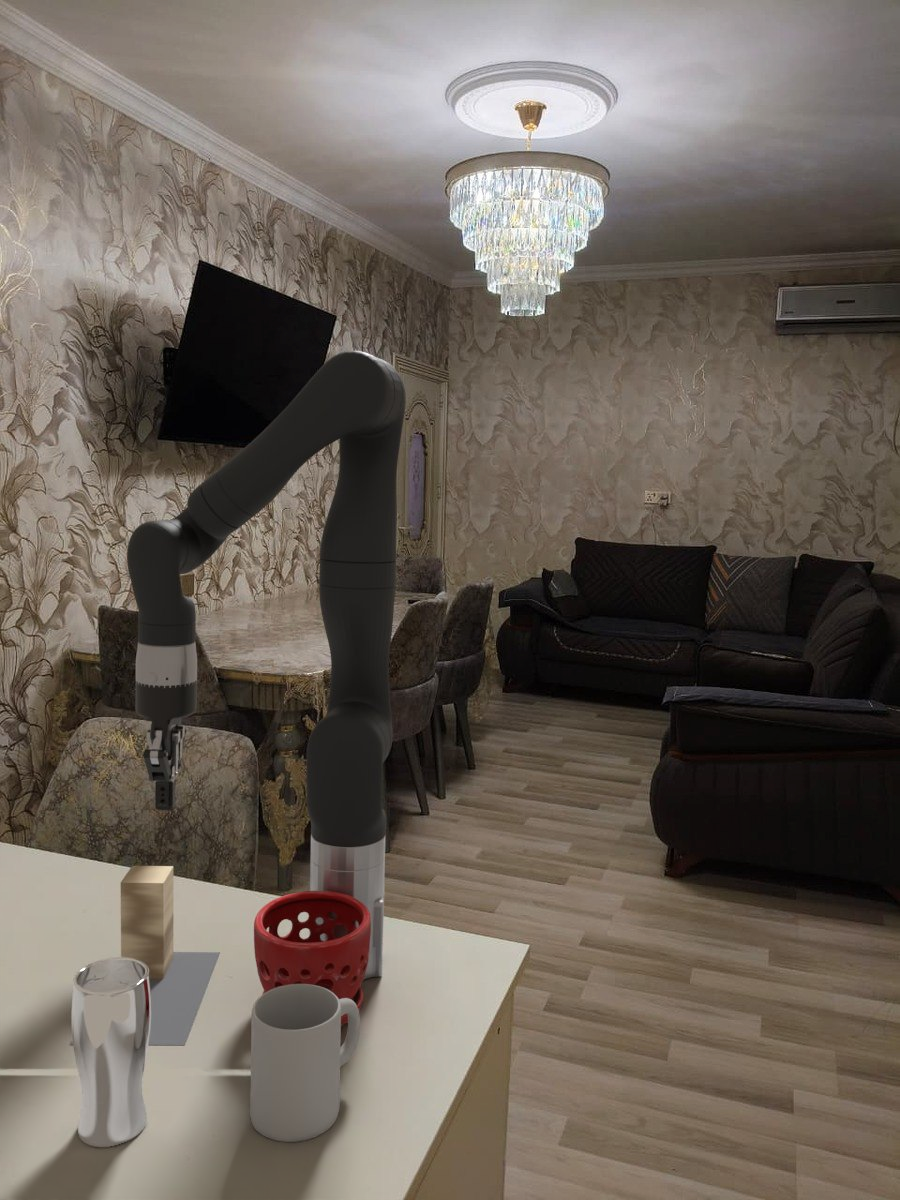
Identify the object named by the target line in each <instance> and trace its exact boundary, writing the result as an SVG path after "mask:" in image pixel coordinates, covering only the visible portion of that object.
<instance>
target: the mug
mask: <svg viewBox="0 0 900 1200" xmlns="http://www.w3.org/2000/svg"><path fill="white" fill-rule="evenodd" d="M262 994H263V993H262ZM262 994H260V996H259V997H258V998H257V999H256V1000H255V1001H254V1003H253V1006H252V1008H251V1022H250V1023H251V1024H250V1025H251V1031H250V1033H251V1034H250V1035H251V1037H250V1038H251V1041H250V1042H251V1044H250V1049H251V1051H250V1093H249V1094H250V1096H249V1097H250V1098H249V1099H250V1100H249V1116H250V1121H251V1124H252V1126H253V1127H254V1129H255V1130H256V1131H257V1133H259V1134H261V1135H262V1136H263V1137H265V1138H267V1139H270V1140H273V1141H276V1142H282V1143H297V1142H303V1141H308V1140H312V1139H314V1138H316V1137H319V1136H321V1135H322V1134H324V1133H325V1132H327V1131H329V1129H330V1128H331V1127H332V1126H333V1125H334V1123H335V1122H336V1120H337V1118H338V1116H339V1112H340V1102H341V1101H340V1099H341V1097H340V1095H341V1093H340V1089H341V1087H340V1079H341V1078H340V1077H341V1076H340V1075H341V1069H340V1068H341V1067H342V1066H344V1065H345V1064H346V1063H347V1062H349V1061H350V1060H351V1059H352V1057H353V1056H354V1055H355V1053H356V1051H357V1047H358V1044H359V1039H360V1034H361V1033H360V1030H361V1017H360V1010H358V1008H357V1005H356V1003H355V1002H354V1001H353V1000H351V999H348V998H342V999H338V997H337V996H336V995H335V994H334V993H333V992H331V991H330V990H328V989H326V988H323V987H320V986H316V985H310V984H291V985H285V986H280V987H277V988H274V989H272V990H269V991H267V992H266V993H264V994H263V995H262ZM344 1014H347V1016H348V1022H347V1030H346V1031H347V1032H346V1036H345V1039H344V1042H343V1044H342V1045H341V1038H342V1037H341V1035H342V1034H341V1029H342V1028H341V1027H342V1026H341V1016H343V1015H344Z"/></svg>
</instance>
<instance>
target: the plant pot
mask: <svg viewBox="0 0 900 1200" xmlns="http://www.w3.org/2000/svg"><path fill="white" fill-rule="evenodd" d="M331 912H334V913H336V915H337V919H335V920H334V919H332V918H331V917H330V913H331ZM302 913H306V914H307V915H308V918H307V919H306V920H305V921H300V920H299V915H301V914H302ZM319 917H321V918H322V919H323V921H324V922H323V924H320V925H319V924H317V923H316V919H317V918H319ZM284 920H288V921H290V922H291V929H290V931H289V933H288V934H286V935H284V936H280V935H279V930H278V928H279V926H280V923H281V922H283V921H284ZM356 921H357V922H358V924H359V927H358V928H357V927H356ZM253 922H254V923H253V945H254V958H255V964H256V969H257V975H258V978H259V981H260V984H261V986H262V989H263V991H262V994H261V995H263V994H264V993H266V992H267V991H269V990H272V989H274V988H277V987H280V986H285V985H291V984H310V985H316V986H320V987H323V988H326V989H328V990H330V991H331V992H333V993H334V994H335V995H336V996H337V997H338V999H342V998H348V999H351V1000H353V1001H354V1002H355V1003H356V1005H357V1008H358V1010H359V1011H360V1010H361V1007H362V1005H363V1001H364V991H363V988H362V986H361V985H362V983H363V981H364V980H363V978H364V975H365V972H366V969H367V965H368V959H369V950H370V935H371V917H370V912H369V910H368V909H367V907H366V906H365V905H364V904H363V903H362V902H360V901H359V900H357V899H356V898H354V897H351V896H349V895H346V894H342V893H337V892H330V891H310V890H307V891H306V890H305V891H299V892H293V893H290V894H289V893H288V894H286V895H283V896H280V897H277V898H274V899H273V900H271V901H269V902H268V903H265V905H264V906H262V907H261V908H260V909H259V911H258V912H257V914H256V915H255V918H254V921H253ZM338 925H342V926H344V927H345V928H346V930H347V932H348V935H346V936H344V937H341V938H338V939H336V937H335V934H334V930H335V928H336V926H338ZM304 929H308V930H310V936H309V935H308V937H306V938H302V937H301V935H300V934H301V931H302V930H304ZM267 930H268V931H267ZM324 933H325V934H327V936H328V940H327V941H322V940H321V938H320V935H321V934H324ZM346 1023H347V1024H348V1016H347V1014H344V1015H343V1016H341V1027H342V1026H343V1025H345V1024H346Z"/></svg>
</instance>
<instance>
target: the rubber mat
mask: <svg viewBox="0 0 900 1200" xmlns="http://www.w3.org/2000/svg"><path fill="white" fill-rule="evenodd" d="M220 954H221V951H220V952H219V951H216V952H215V951H214V952H213V951H211V952H209V951H207V952H205V951H202V952H201V951H173V960H172V962H171V964H170V966H169V968H168V970H167V973H166V975H165V977H164V979H149V983H150V993H151V1030H150V1038H149V1044H148V1046H186V1043H187V1041H188V1038H189V1035H190V1033H191V1030H192V1028H193V1025H194V1023H195V1020H196V1017H197V1015H198V1011H199V1009H200V1007H201V1005H202V1002H203V998H204V997H205V994H206V991H207V988H208V985H209V983H210V981H211V978H212V975H213V973H214V970H215V966H216V965H217V962H218V959H219V957H220ZM69 1046H73V1042H72V1040H71V1041H70V1044H69Z"/></svg>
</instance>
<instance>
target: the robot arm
mask: <svg viewBox="0 0 900 1200" xmlns="http://www.w3.org/2000/svg"><path fill="white" fill-rule="evenodd" d="M396 369H397V368H395V367H394V366H393V365H392V364H390V362H388V361H385V360H384V359H382V358H380V357H377V356H375V355H372V354H370V353H367V352H364V351H360V350H345V351H341V352H339V353H337V354H334V355H333V356H331V357H330V358H329V359H328V360H327V361H326V362H325V363H324V364H323V365H322V366H321V367H320V368H319V369H318V370H317V371H316V372H315V374H314V375H313V376H312V377H311V378H310V379H309V380H308V381H307V383H306V384H305V385H304V386H303V387H302V389H301V390H300V391H299V392H298V393H297V394H296V396H295V397H294V398H293V399H292V400H291V402H289V403H288V405H287V406H285V408H284V409H283V410H282V411H281V412H280V413H279V414H278V416H277V417H276V418H275V419H273V421H272V422H271V423H269V425H268V426H266V427H265V429H264V430H263V431H262V432H260V433H259V435H257V436H256V437H255V438H254V439H253V440H252V441H251V442H250V443H248V444H247V445H246V446H245V447H244V448H243V449H241V450H240V451H239V452H238V453H236V455H234V456H233V457H232V458H230V460H228V461H227V462H226V463H224V464H223V465H222V466H221V467H220V468H218V469H217V470H216V471H214V472H213V473H212V474H211V475H210V476H208V477H207V478H206V479H205V480H204V481H202V482H201V483H200V484H199V485H198V486H196V487H195V489H194V490H192V492H191V493H190V494H189V496H188V499H187V501H186V502H187V503H186V505H187V507H186V508H185V509H184V510H182V511H181V512H180V513H178V515H176V516H174V517H173V518H172V519H163V520H162V519H161V520H149V521H146V522H143V523H141V524H140V525H139V526H137V527H136V528H135V529H134V531H133V532H132V534H131V536H130V538H129V541H128V545H127V550H126V551H127V552H126V561H127V562H126V563H127V569H128V573H129V578H130V583H131V587H132V590H133V591H132V592H133V596H134V599H135V602H136V605H137V611H138V616H137V649H136V657H135V706H134V707H135V712H136V715H138V716H140V717H142V718H148V720H150V721H151V723H150V729H147V732H146V743H147V745H148V749H144V751H143V755H142V756H143V759H144V762H145V767H146V771H147V775H148V779H149V781H150V782H154V783H155V800H154V802H155V804H154V805H155V806H154V807H155V809H156V810H158V811H171V810H172V809H173V808H174V807H175V804H176V780H177V778H178V775H179V770H180V769H181V767H182V761H183V753H184V749H185V741H186V735H187V727H186V726H185V725H182V719H183V718H187V717H189V716H191V715H194V714H195V713H196V711H197V710H198V709H197V705H198V702H197V701H198V699H197V698H198V656H197V655H198V654H197V647H196V640H197V639H196V637H197V635H196V634H197V633H196V632H197V631H196V629H197V628H196V625H197V623H196V622H197V620H196V619H197V617H196V605H195V602H194V601H193V600H192V598H190V597H189V596H186V595H184V594H183V588H182V583H181V575H185V574H188V573H190V572H192V571H195V570H196V569H197V568H199V567H200V566H202V565H203V564H204V563H205V562H207V560H209V559H210V558H211V557H212V556H213V555H214V554H215V553H216V552H217V550H218V549H219V548H220V547H221V546H222V545H223V544H224V542H226V540H227V539H228V537H229V536H230V535H231V534H233V533H234V532H236V531H237V530H238V529H240V528H241V527H243V525H245V524H246V523H247V522H248V521H249V520H251V519H252V518H253V517H255V516H256V515H257V514H258V513H260V512H261V511H262V510H263V509H265V508H266V507H267V506H268V505H269V504H270V503H271V502H272V501H273V500H274V499H275V498H276V497H277V496H278V495H279V494H280V493H281V492H282V490H283V489H284V488H285V486H286V485H287V484H288V483H289V481H290V480H291V479H292V478H293V477H294V475H295V474H296V473H297V471H298V470H300V468H301V467H302V466H303V465H304V464H306V462H308V461H309V460H310V459H311V458H312V457H313V456H315V455H316V454H318V453H319V452H321V450H323V449H325V448H326V447H328V446H329V445H331V444H333V443H334V442H336V441H338V440H339V443H338V444H339V449H338V450H339V467H338V475H337V476H338V477H337V482H336V485H335V490H334V494H333V497H332V501H331V504H330V507H329V510H328V513H327V517H326V521H325V524H324V528H323V532H322V536H321V540H320V541H321V542H320V549H319V571H318V572H319V575H318V576H319V579H318V580H319V582H318V583H319V584H318V586H319V587H318V590H319V593H318V595H319V605H320V606H319V607H320V611H321V616H322V622H323V625H324V630H325V634H326V638H327V643H328V647H329V652H330V653H329V654H330V665H331V668H330V672H331V674H330V685H329V695H328V696H329V697H328V703H327V710H326V714H325V716H324V717H323V718H322V719H320V720H319V722H317V724H316V725H314V728H313V729H312V730H311V733H310V735H309V738H308V742H307V748H306V762H305V763H306V766H305V767H306V771H305V772H306V775H305V776H306V777H305V778H306V810H307V814H308V815H307V816H308V817H309V820H310V866H309V868H310V870H309V871H310V872H309V873H310V874H309V891H330V892H337V893H342V894H346V895H349V896H351V897H354V898H356V899H357V900H359V901H360V902H362V903H363V904H364V905H365V906H366V907H367V909H368V910H369V912H370V917H371V935H370V950H369V959H368V965H367V969H366V972H365V975H364V978H363V981H365V980H367V979H369V978H372V977H373V978H374V977H382V974H383V973H382V972H383V948H384V947H383V946H384V943H383V941H384V939H383V938H384V919H385V918H384V913H385V912H384V911H385V872H386V871H385V869H386V867H385V864H386V863H385V861H386V834H387V833H386V832H387V814H386V811H385V810H384V808H383V802H382V801H383V764H384V762H385V761H386V759H387V758H388V756H389V754H390V752H391V749H392V745H393V738H394V737H393V735H394V733H393V732H394V731H393V719H392V707H391V696H390V693H391V692H390V676H389V675H390V674H389V673H390V672H389V671H390V669H389V663H390V651H391V644H392V637H393V636H392V633H393V625H394V623H393V622H394V612H395V611H394V610H395V598H396V597H395V596H396V585H397V584H396V583H397V581H396V579H397V525H398V524H397V520H398V518H397V517H398V515H397V514H398V513H397V512H398V511H397V507H398V505H397V504H398V503H397V501H398V498H397V476H398V475H397V474H398V472H397V471H398V465H399V464H398V462H399V455H400V447H401V440H402V439H401V438H402V432H403V427H404V426H403V425H404V417H405V412H406V411H405V410H406V401H407V400H406V390H405V385H404V381H403V380H402V377H401V375H400V374H399V372H398V370H396ZM330 917H331V918H332V919H334V920H335V919H337V915H336V913H334V912H331V913H330ZM323 922H324V921H323V919H322V918H321V917H319V918H317V919H316V923H317V924H319V925H320V924H323ZM356 927H357V928H358V927H359V924H358V922H357V921H356ZM308 930H309V929H308ZM334 934H335V937H336V939H338V938H341V937H344V936H346V935H348V932H347V930H346V928H345V927H344V926H342V925H338V926H336V928H335V930H334ZM309 936H310V930H309V931H308V937H309ZM320 938H321V940H322V941H327V940H328V936H327V934H325V933H324V934H321V935H320Z"/></svg>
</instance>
